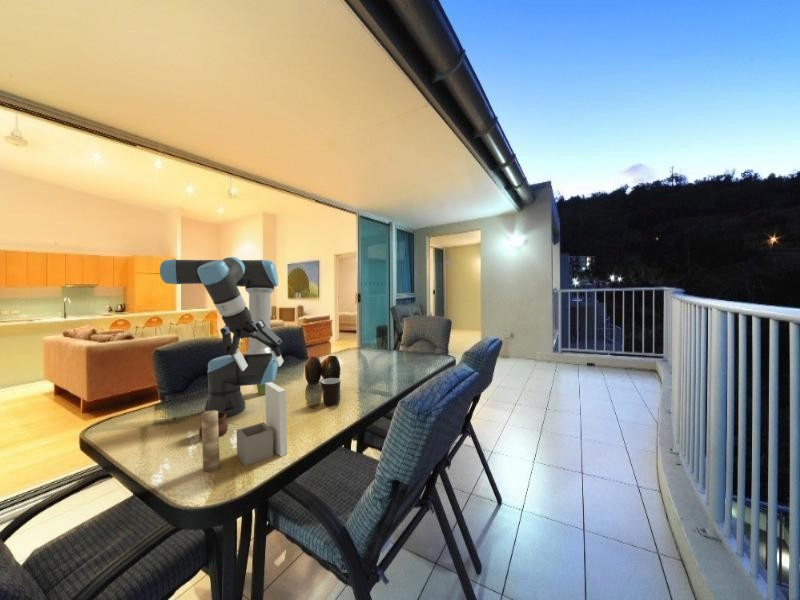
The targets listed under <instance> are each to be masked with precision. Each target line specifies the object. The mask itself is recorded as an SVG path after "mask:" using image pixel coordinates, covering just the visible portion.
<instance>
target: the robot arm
mask: <svg viewBox="0 0 800 600" xmlns="http://www.w3.org/2000/svg"><path fill="white" fill-rule="evenodd" d="M159 275H160V278H161V280H162V281H163V282H164V283H165V284H167V285H195V284H196V285H198V284H199V285H203V287H204V289H205V290H206V292H207V293H208V294H209V297H210V299H211V300H212V302H213V304H214V306H215V307H216V309H217V311H218V313H219V315H220V316H221V319H222V322H223V323H224V326H223V327H222V328H221V329H220V330H219V331H220V334H221V336H222V353H223V354H224V355H221V356H219V357H216V358H215V357H214V358H213V359H211V360H209V361H208V364H207V382H208V383H207V384H208V386H207V387H208V397H207V400H206V403H205V407H204V410H203V413H204V412H207V411H212V410H216V411H218V412H224V413H226V418H228V417H232V416H235V415H238V414H240V413H242V412H244V411H245V409H246V402H245V399H244V398H245V397H244V396H243V393H242V391H241V387H243V386H257V385H259V384H261V385H263V384H265V383H269V382H273V383H274V381H275V379H276V377H277V373H278V367H281V366H282V365H283V363H284V362H285V361H284V358H283V357H282V350H281V348H280V347H281V345H282V343H284V341H283V339H281V338H280V337H279V336H278V335H277V334H276V333H275V332H274V331H273V330H272V329H271V294H273V292H274V291H275V287H278V286H279V277H278V275H279V274H278V270H277V268H276V264H275V263H274V261H272V260H265V259H249V260H248V259H242V260H241V259H239V258H238V257H234V256H228V257H226V258H223V259H175V258H174V259H165V260H163V261H162V262H161V263H160V266H159ZM238 287H244V289H245V292H246V293H247V294H248V306H246V305H247V304H246V302H245V299H244V298H243V296H242V294H241V292H240V289H239V288H238ZM232 334H233V335H232ZM232 336H233V337H232ZM241 339H248V348H247V349H248V350H247V351H245V353H244V356H243V354H242V352H241V350H238V349H239V344H240V341H241Z"/></svg>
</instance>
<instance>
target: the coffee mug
mask: <svg viewBox="0 0 800 600" xmlns="http://www.w3.org/2000/svg"><path fill="white" fill-rule="evenodd" d="M341 382H342V381H341V378H338V377H337V378H336V377H329V378H325V379H322V380H320V384H321V385H320V386H321V392H322V401H323V405H324V406H328V407H330V406H336V405H338V404H339V403H340V402H339V400H340V390H341Z"/></svg>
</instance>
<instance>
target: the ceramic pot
mask: <svg viewBox="0 0 800 600" xmlns="http://www.w3.org/2000/svg"><path fill="white" fill-rule="evenodd" d="M226 418H227V417H226V413H224V412H218V428H219V438H221V437H223V436H225V435H226V434H227V431H228V429H229V428H228V427H229V423H228V422H227V421H226ZM200 421H201V422H202V417H201V416H200ZM230 424H231V425H234V423H233V422H230ZM236 425H237V426H239V424H237V423H236ZM198 434H199V436H200V437H201V439H202V425H201V426H200V428H199V430H198Z"/></svg>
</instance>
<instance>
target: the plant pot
mask: <svg viewBox="0 0 800 600" xmlns="http://www.w3.org/2000/svg"><path fill="white" fill-rule="evenodd" d="M272 383H274V381H273V382H272ZM256 387H257V394H258V395H260V396H266V395H265V384H263V385H261V384H259V385H256Z"/></svg>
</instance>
